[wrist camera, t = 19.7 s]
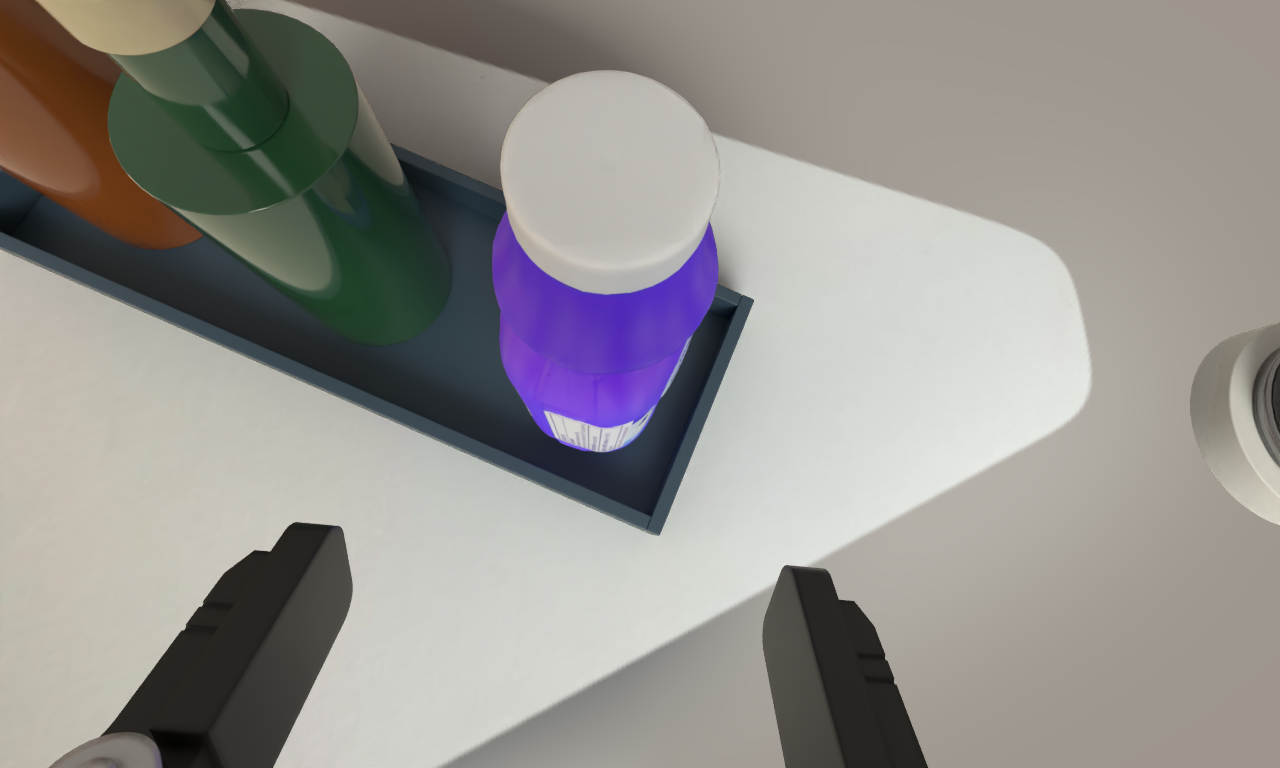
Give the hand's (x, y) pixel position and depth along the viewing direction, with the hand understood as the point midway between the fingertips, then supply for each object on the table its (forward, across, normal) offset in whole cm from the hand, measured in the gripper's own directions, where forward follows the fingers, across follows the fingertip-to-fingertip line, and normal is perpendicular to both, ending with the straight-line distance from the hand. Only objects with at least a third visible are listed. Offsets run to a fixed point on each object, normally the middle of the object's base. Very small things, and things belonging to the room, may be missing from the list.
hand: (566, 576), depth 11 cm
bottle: (+16, 0, -6) cm, 17 cm away
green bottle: (+19, -10, -3) cm, 22 cm away
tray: (+19, -10, -3) cm, 22 cm away
